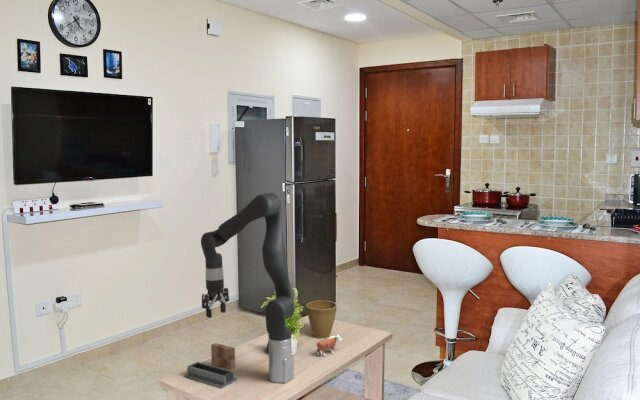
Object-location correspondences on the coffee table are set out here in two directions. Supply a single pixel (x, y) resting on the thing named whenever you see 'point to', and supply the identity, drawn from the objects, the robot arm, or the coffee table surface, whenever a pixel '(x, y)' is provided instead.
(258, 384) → the coffee table surface
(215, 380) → the bottom track
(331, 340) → the bull figurine
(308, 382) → the coffee table surface
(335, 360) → the coffee table surface
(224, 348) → the door panel
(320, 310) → the plant pot
